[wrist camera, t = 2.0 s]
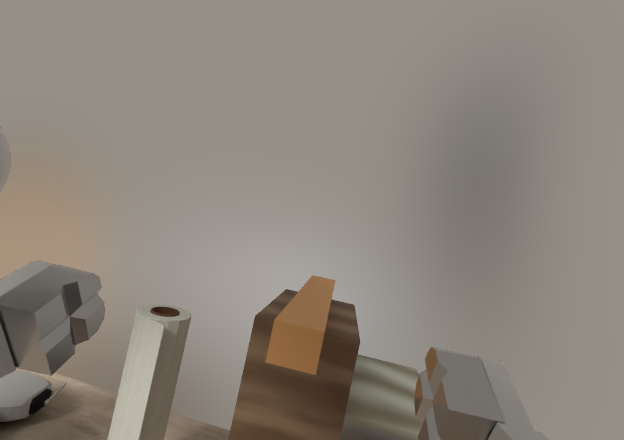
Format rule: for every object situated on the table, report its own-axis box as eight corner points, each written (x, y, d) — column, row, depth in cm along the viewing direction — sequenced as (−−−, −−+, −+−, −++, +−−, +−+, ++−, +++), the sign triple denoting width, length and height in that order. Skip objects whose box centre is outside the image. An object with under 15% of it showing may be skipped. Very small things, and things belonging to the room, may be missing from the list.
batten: (315, 375, 20) (324, 331, 20) (265, 362, 20) (274, 319, 20) (331, 299, 45) (335, 280, 45) (308, 294, 45) (312, 275, 45)
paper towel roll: (122, 467, 44) (160, 300, 45) (163, 485, 42) (201, 312, 43) (71, 508, 37) (117, 309, 38) (117, 531, 35) (164, 324, 36)
